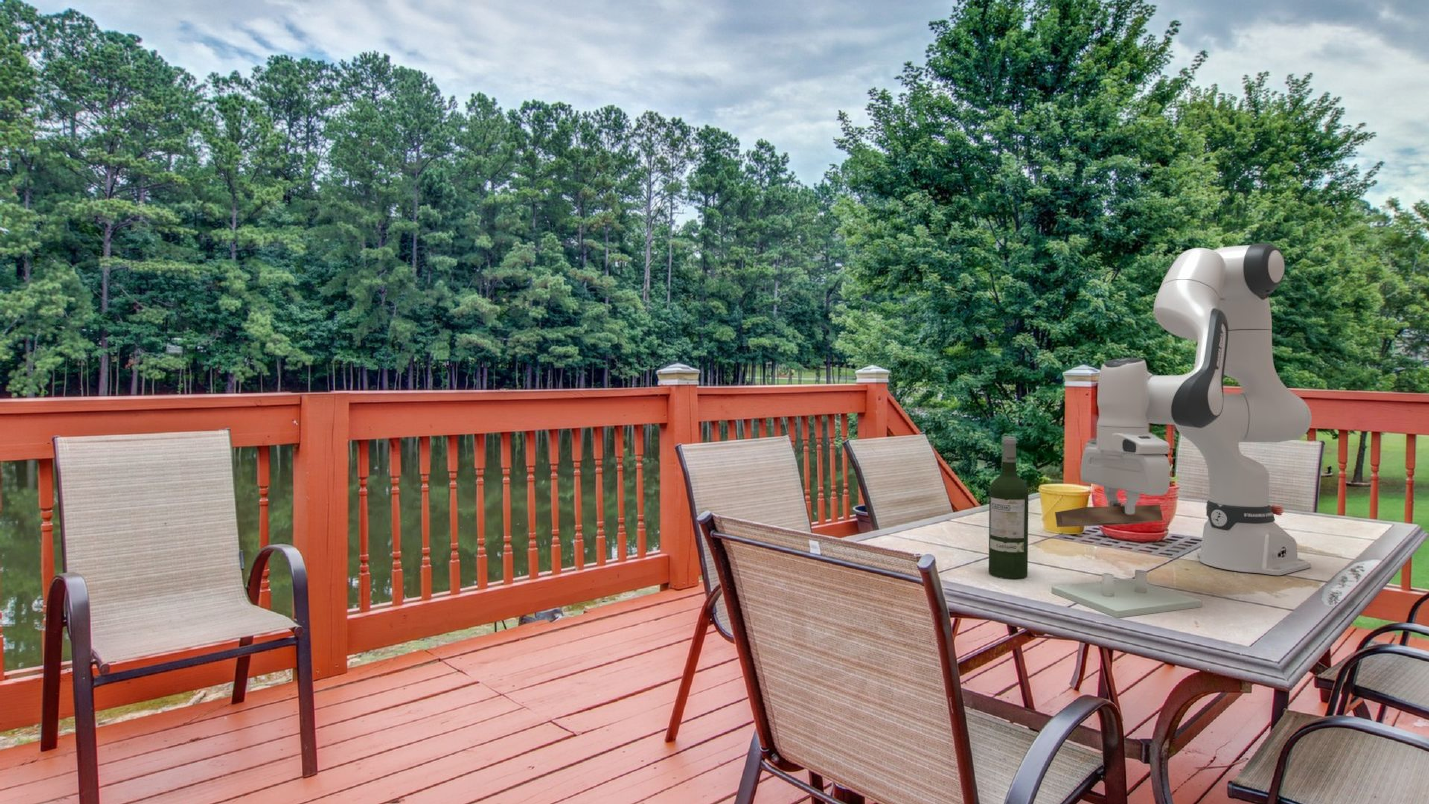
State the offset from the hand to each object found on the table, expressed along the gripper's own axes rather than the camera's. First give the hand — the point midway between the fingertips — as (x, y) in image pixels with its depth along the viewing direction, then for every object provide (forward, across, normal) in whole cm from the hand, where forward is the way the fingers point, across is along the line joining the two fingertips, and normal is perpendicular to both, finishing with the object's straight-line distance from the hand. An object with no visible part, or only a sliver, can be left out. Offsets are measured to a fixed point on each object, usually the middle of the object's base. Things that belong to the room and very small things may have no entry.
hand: (1121, 512), depth 144 cm
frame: (+3, -3, 0) cm, 4 cm away
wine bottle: (+17, -19, -12) cm, 28 cm away
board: (+17, +2, 0) cm, 17 cm away
